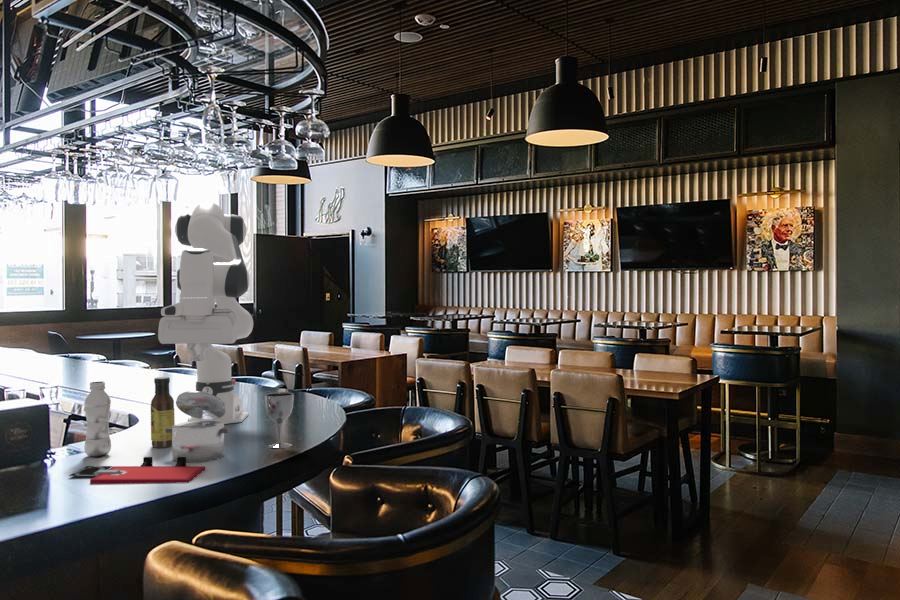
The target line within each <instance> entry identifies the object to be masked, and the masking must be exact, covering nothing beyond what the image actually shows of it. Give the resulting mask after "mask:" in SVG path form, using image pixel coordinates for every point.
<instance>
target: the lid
mask: <svg viewBox="0 0 900 600" xmlns="http://www.w3.org/2000/svg"><path fill="white" fill-rule="evenodd" d="M175 405H176V407H177V409H179V411H181V412H182V413H184V414H185V415H187V416H189V417H191V416H192V417H195V418H199V419H207V420H210V419H217V418H220V417H222V416H223V415H224V414H225V411H226V405H225V403H224V402H223V401H222V400H221V399H219V398H218V397H216V396H214V395H211V394H209V393H205V392H199V391H196V390H191V391H190V390H189V391H184V392H181V393H180V394H178V396H177V398H176V401H175Z"/></svg>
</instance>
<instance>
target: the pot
mask: <svg viewBox="0 0 900 600" xmlns="http://www.w3.org/2000/svg"><path fill="white" fill-rule="evenodd" d="M231 431H232V428H231V427H229V426H227V427H226V426H225V424H224V423H223V422H220V421H192V422H188V421H186V422H180V423H176V424H175V425H174V426H173V427H169V428H167V429H166V433H172V446H171V447H172V448H171V449H172V450H171V451H172V455H171V457H172V461H173V462H176V463H177V458H178V457H186V464H194V463H193V462H198V463H205V462H204V461H206V462H211V461H210V460H212V461H216V460H218V459H217V458H219V459H221V458H223V457H224V456H225V434H228V433H231ZM223 455H224V456H223ZM222 456H223V457H222ZM220 457H221V458H220ZM215 459H216V460H215Z"/></svg>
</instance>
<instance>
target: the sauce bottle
mask: <svg viewBox="0 0 900 600" xmlns="http://www.w3.org/2000/svg"><path fill="white" fill-rule="evenodd" d="M170 379H171V378H170V376H158V377H154V380H153V381H154V382H153V383H154V396H153V397H152V399H151V402H150V440H151V446H152V447H153V448H156V449H157V448H158V449H165V447H166V448H170V447H172V433H166V429H167V428H169V427H173V426H174V425H176V424H175V404H174V403H175V401H174V398H173V396H172V395H171V394H170V382H171V381H170Z"/></svg>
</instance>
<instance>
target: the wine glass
mask: <svg viewBox="0 0 900 600" xmlns="http://www.w3.org/2000/svg"><path fill="white" fill-rule="evenodd" d="M294 398H295V397H294V393H293V392H289V391H288V392H287V391H280V392H279V391H277V392H270V393H269V392H268V393H265V394H264V404H265V405H264V406H265V411H266V413H267V415H268V416H269V418H270V419H271V420H272V421H273V423H275V425H276V429H277V438H278V439H277V442H276V443H273V444H272V445H271V444H269V447H271V448H285V449H289V448H292V447H293V444H291V443H287V442H283V441H282V430H283V425H284V423H285V422H286V420H287V419H288V418H289V416H291V414H292V412H293V407H294ZM291 446H292V447H291Z"/></svg>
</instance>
